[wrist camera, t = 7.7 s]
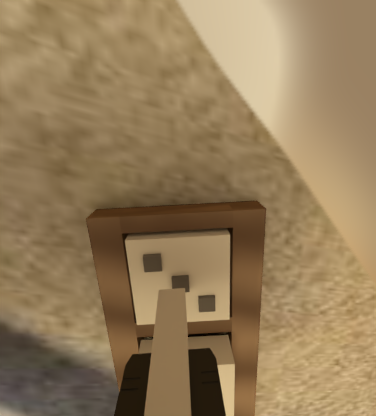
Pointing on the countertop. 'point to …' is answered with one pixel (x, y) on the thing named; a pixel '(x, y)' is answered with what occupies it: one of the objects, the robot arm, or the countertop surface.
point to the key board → (235, 327)
